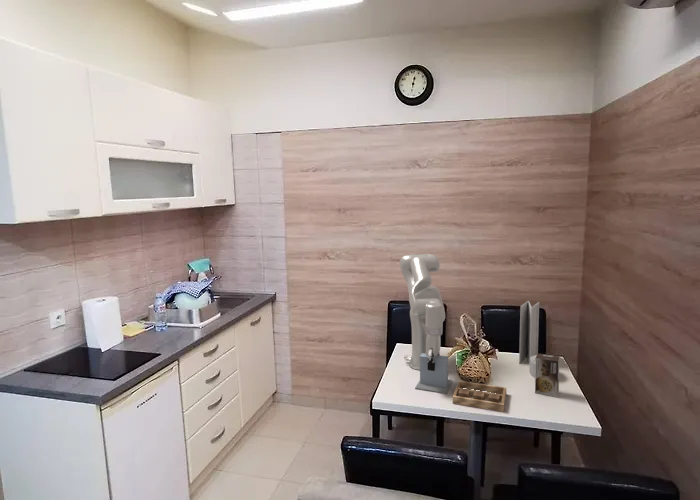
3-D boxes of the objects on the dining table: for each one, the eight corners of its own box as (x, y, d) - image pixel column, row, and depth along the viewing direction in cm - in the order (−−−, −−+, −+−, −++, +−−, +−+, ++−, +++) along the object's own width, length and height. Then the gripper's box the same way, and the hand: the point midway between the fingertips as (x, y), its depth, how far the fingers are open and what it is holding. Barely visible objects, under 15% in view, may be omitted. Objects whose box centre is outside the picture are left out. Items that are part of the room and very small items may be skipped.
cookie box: (559, 391, 184) (560, 356, 182) (557, 397, 178) (559, 361, 176) (536, 387, 189) (537, 352, 187) (534, 393, 183) (535, 357, 181)
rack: (452, 403, 176) (452, 396, 175) (459, 386, 191) (459, 380, 190) (503, 412, 168) (503, 404, 167) (506, 394, 183) (506, 387, 182)
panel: (420, 383, 194) (419, 356, 192) (422, 379, 198) (422, 353, 196) (446, 387, 189) (446, 359, 188) (448, 383, 193) (448, 356, 191)
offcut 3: (488, 406, 172) (488, 397, 172) (489, 402, 176) (489, 393, 176) (498, 408, 171) (498, 399, 170) (499, 404, 174) (499, 394, 174)
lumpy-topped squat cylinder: (550, 370, 206) (550, 353, 205) (558, 382, 194) (559, 363, 192) (527, 369, 208) (528, 352, 207) (534, 380, 195) (534, 362, 194)
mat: (415, 388, 190) (415, 387, 190) (422, 376, 203) (422, 375, 203) (446, 394, 184) (446, 392, 184) (452, 381, 197) (452, 379, 197)
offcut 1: (458, 401, 177) (458, 392, 177) (460, 397, 181) (460, 388, 180) (468, 403, 176) (468, 394, 175) (469, 399, 179) (469, 390, 179)
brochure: (530, 366, 212) (532, 307, 208) (519, 363, 215) (520, 306, 212) (537, 357, 223) (539, 301, 220) (526, 355, 227) (528, 300, 223)
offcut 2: (473, 404, 175) (473, 395, 174) (474, 399, 178) (474, 390, 178) (483, 405, 173) (483, 396, 173) (484, 401, 177) (484, 392, 176)
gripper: (430, 323, 200) (429, 357, 202) (420, 335, 184) (420, 372, 187) (446, 325, 197) (445, 360, 199) (438, 337, 181) (437, 375, 184)
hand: (433, 366), depth 193 cm, fingers open, 9 cm apart
